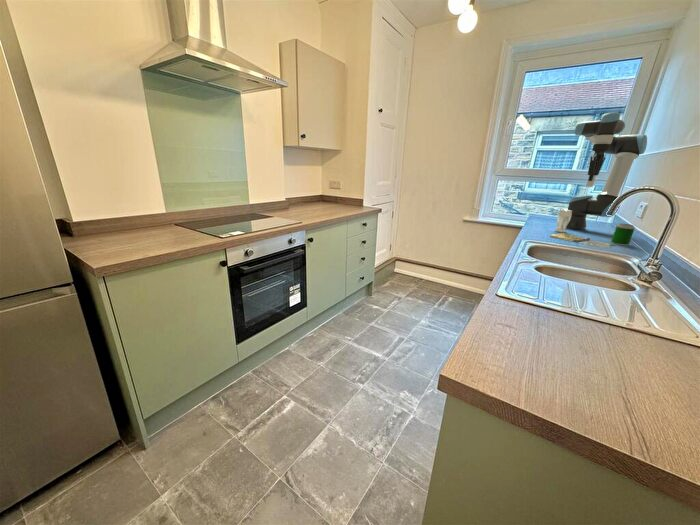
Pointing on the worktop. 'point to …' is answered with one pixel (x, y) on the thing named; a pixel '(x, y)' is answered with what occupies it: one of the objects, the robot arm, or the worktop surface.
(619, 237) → the soda can
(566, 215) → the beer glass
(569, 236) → the swing leaf
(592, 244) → the base leaf
